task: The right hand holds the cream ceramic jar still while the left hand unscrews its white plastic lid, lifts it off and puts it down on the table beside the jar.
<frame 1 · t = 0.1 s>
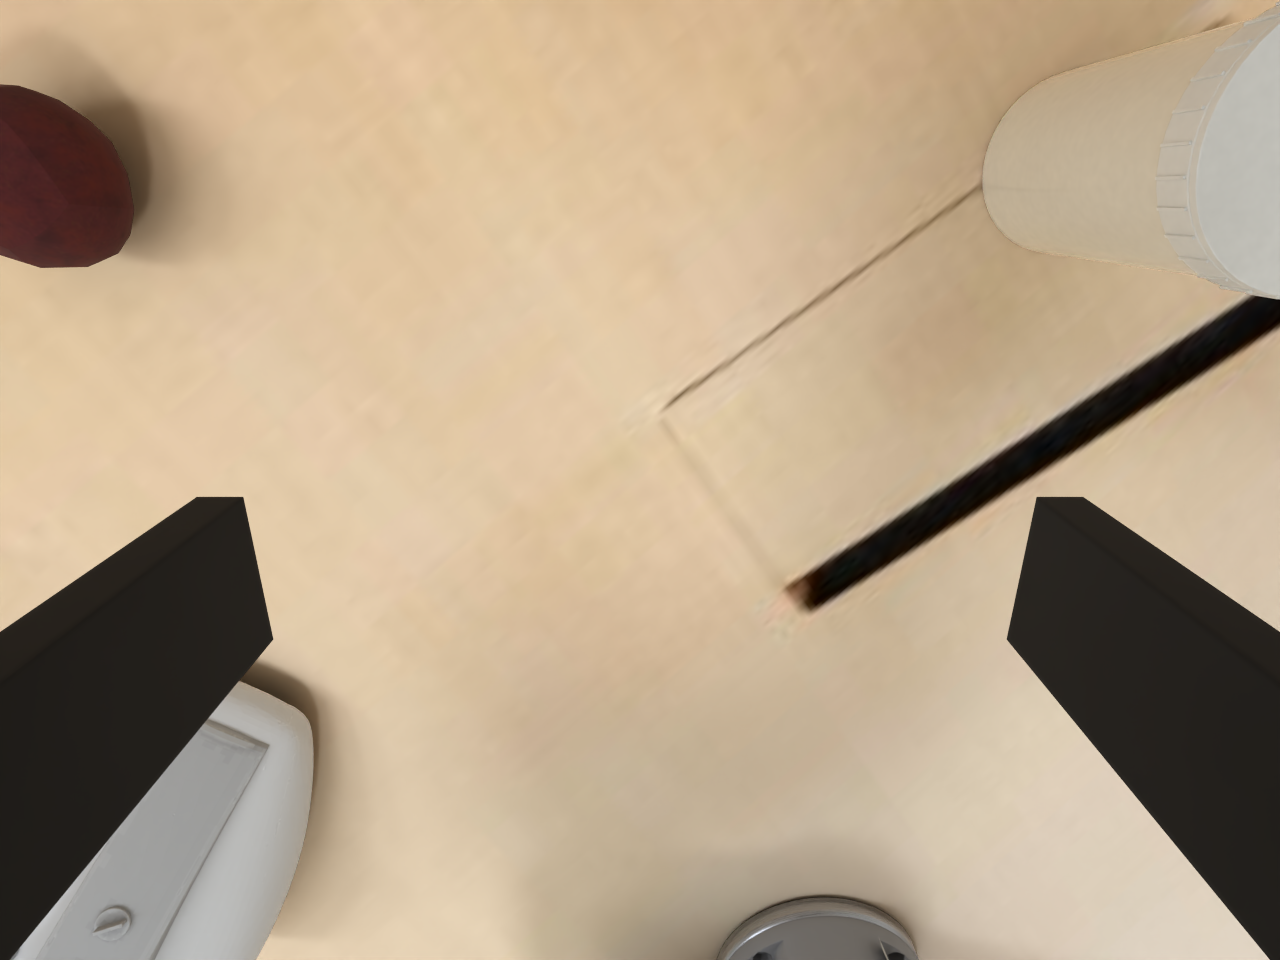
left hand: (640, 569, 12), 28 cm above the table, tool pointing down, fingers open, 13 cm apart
projector: (204, 794, 50), on the table
jar: (1067, 165, 36), on the table
dark red ball: (92, 184, 36), on the table
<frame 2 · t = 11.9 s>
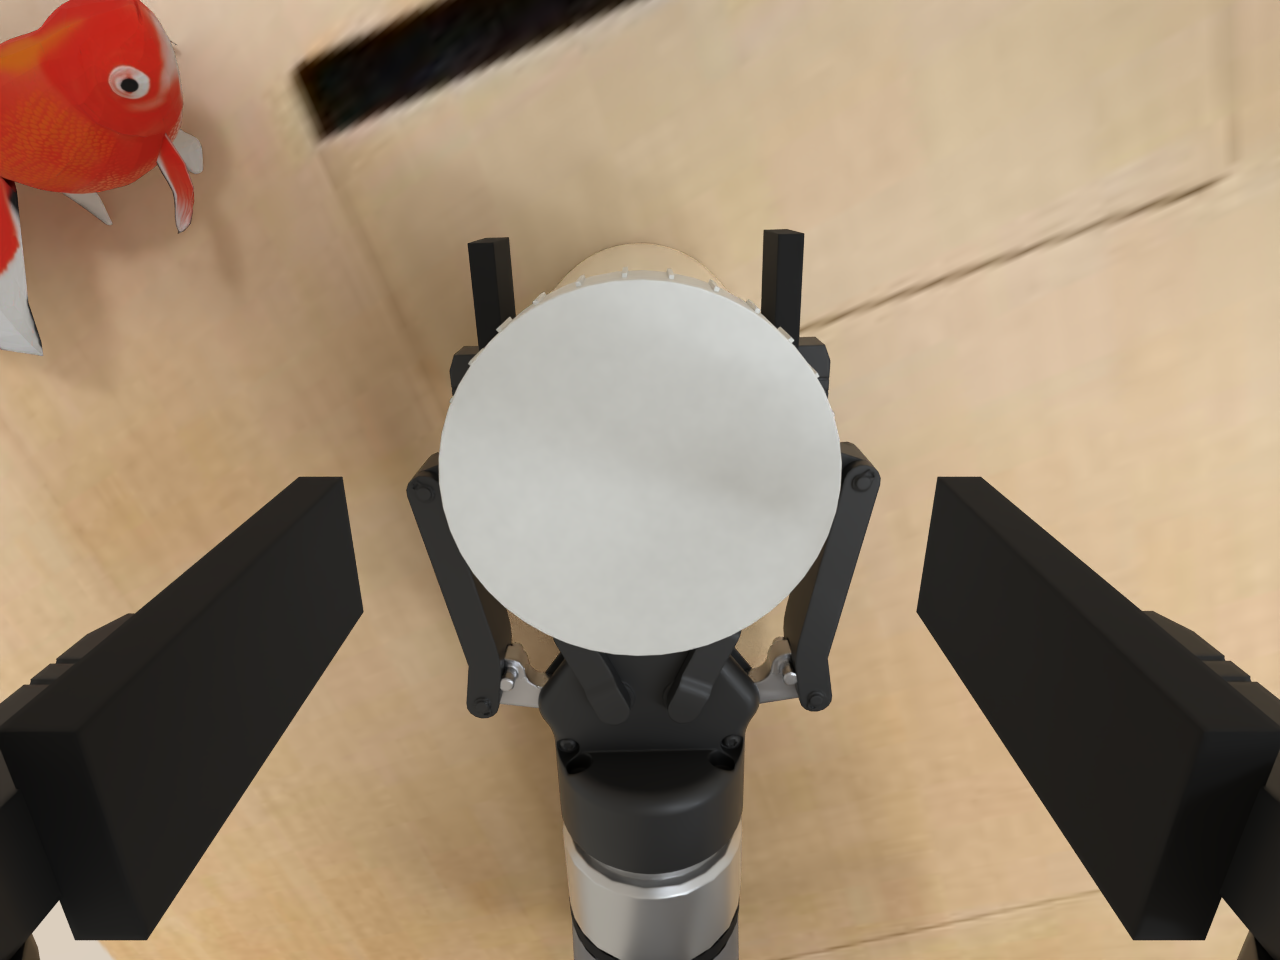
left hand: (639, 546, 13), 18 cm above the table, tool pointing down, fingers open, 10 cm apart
right hand: (635, 236, 23), fingers closed on jar, 8 cm apart
fish: (100, 182, 28), on the table
jar: (640, 348, 30), on the table, touching right hand
lid: (640, 480, 16), point 15 cm above the table, screwed on, not yet turned
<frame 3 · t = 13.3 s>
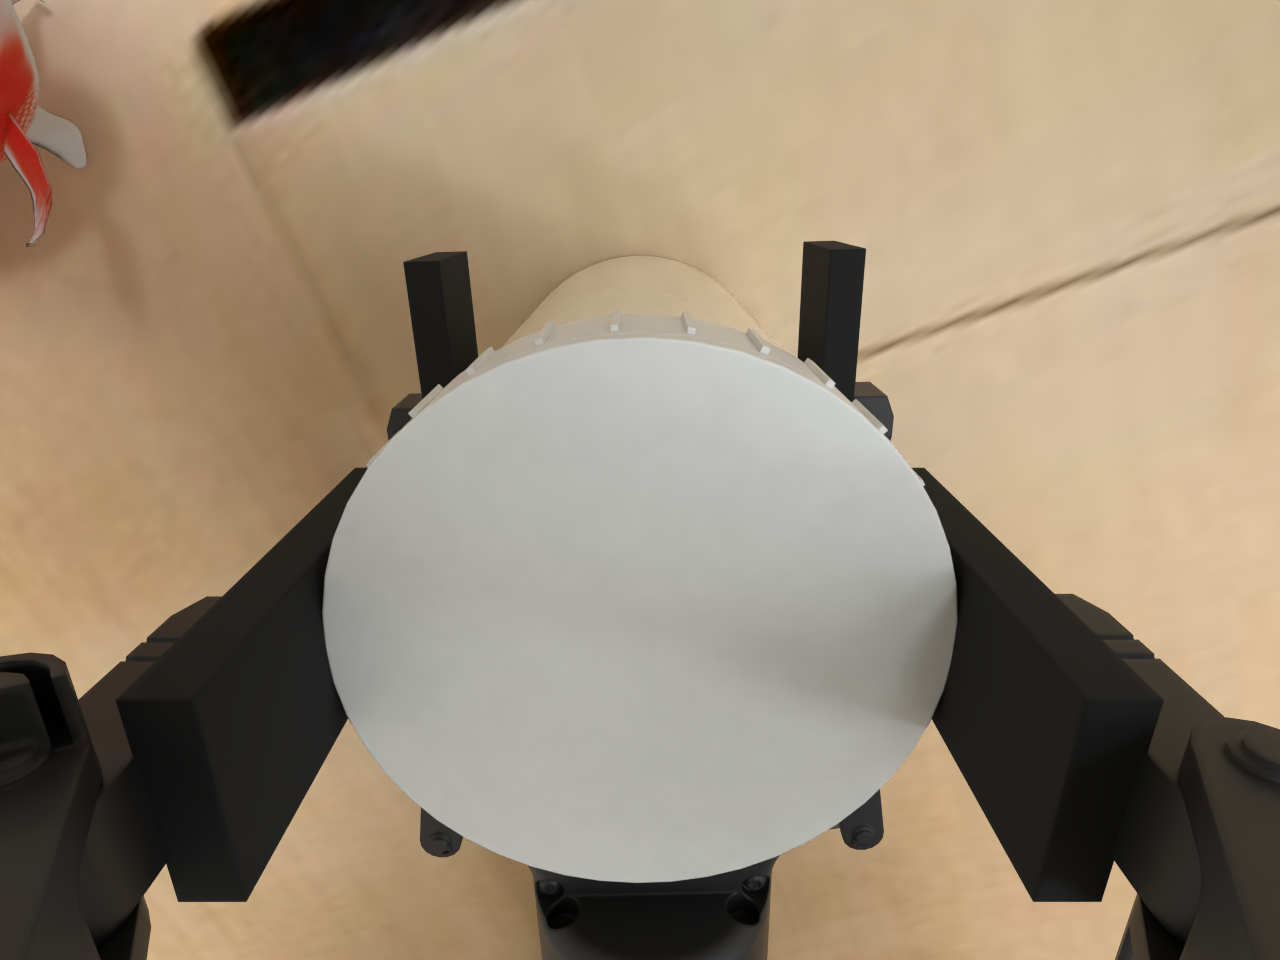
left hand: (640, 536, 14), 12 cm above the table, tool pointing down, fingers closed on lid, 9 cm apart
jar: (640, 384, 25), on the table, touching right hand
lid: (640, 638, 11), point 15 cm above the table, screwed on, not yet turned, touching left hand
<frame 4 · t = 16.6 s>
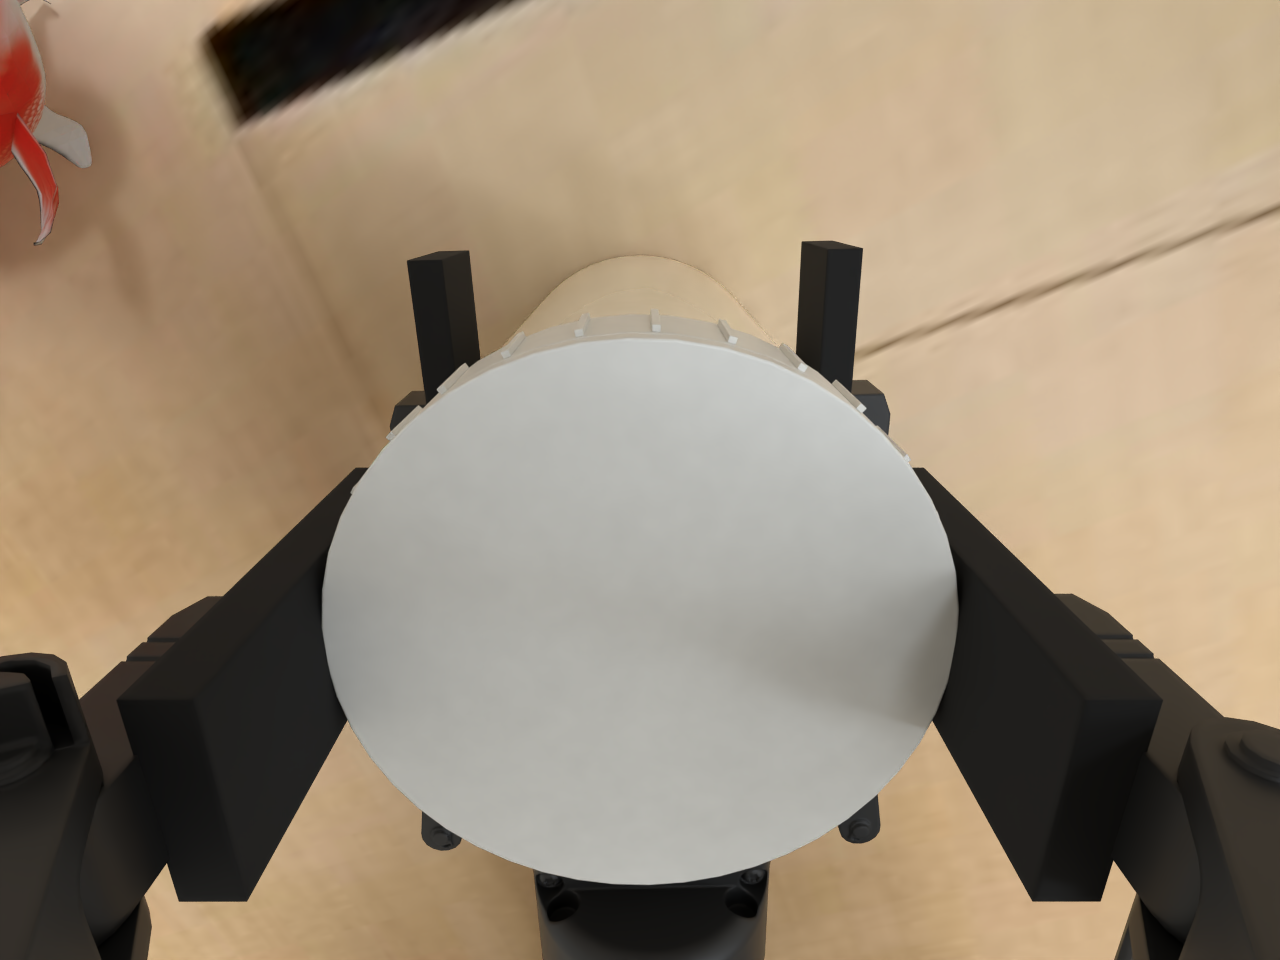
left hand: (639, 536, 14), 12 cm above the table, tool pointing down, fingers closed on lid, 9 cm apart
jar: (639, 382, 25), on the table, touching right hand
lid: (640, 640, 11), point 15 cm above the table, turned 93° so far, risen 0.3 cm, still on its thread, touching left hand
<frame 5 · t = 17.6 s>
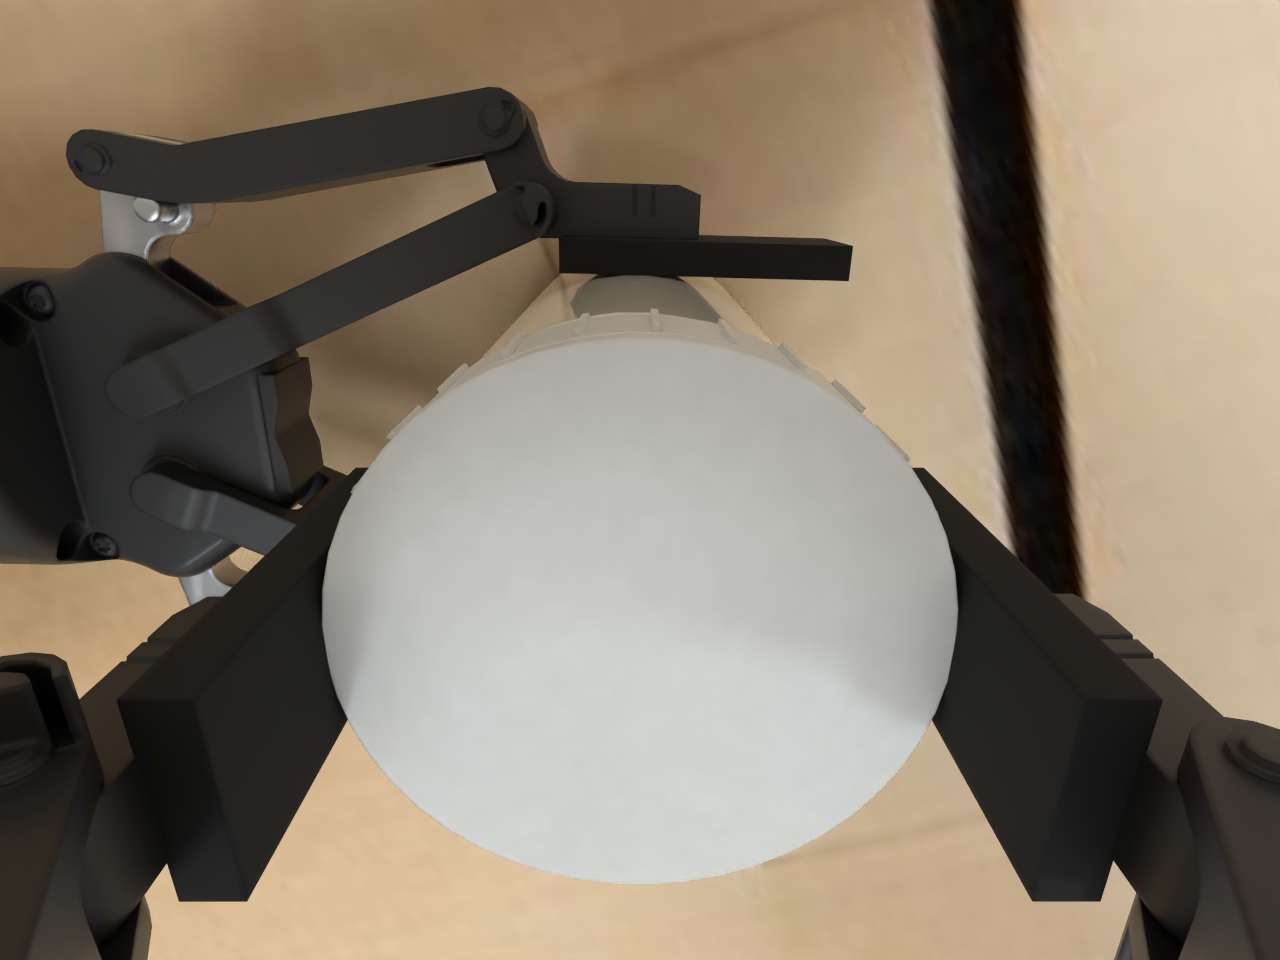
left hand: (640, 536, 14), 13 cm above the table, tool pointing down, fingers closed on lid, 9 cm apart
right hand: (813, 436, 19), fingers closed on jar, 8 cm apart
jar: (635, 374, 25), on the table, touching right hand
lid: (639, 639, 11), point 16 cm above the table, off its thread, touching left hand
when the left hand's fingers open (0 cm above the table, at t = 23.5 s): lid drops 2 cm, point 2 cm above the table.
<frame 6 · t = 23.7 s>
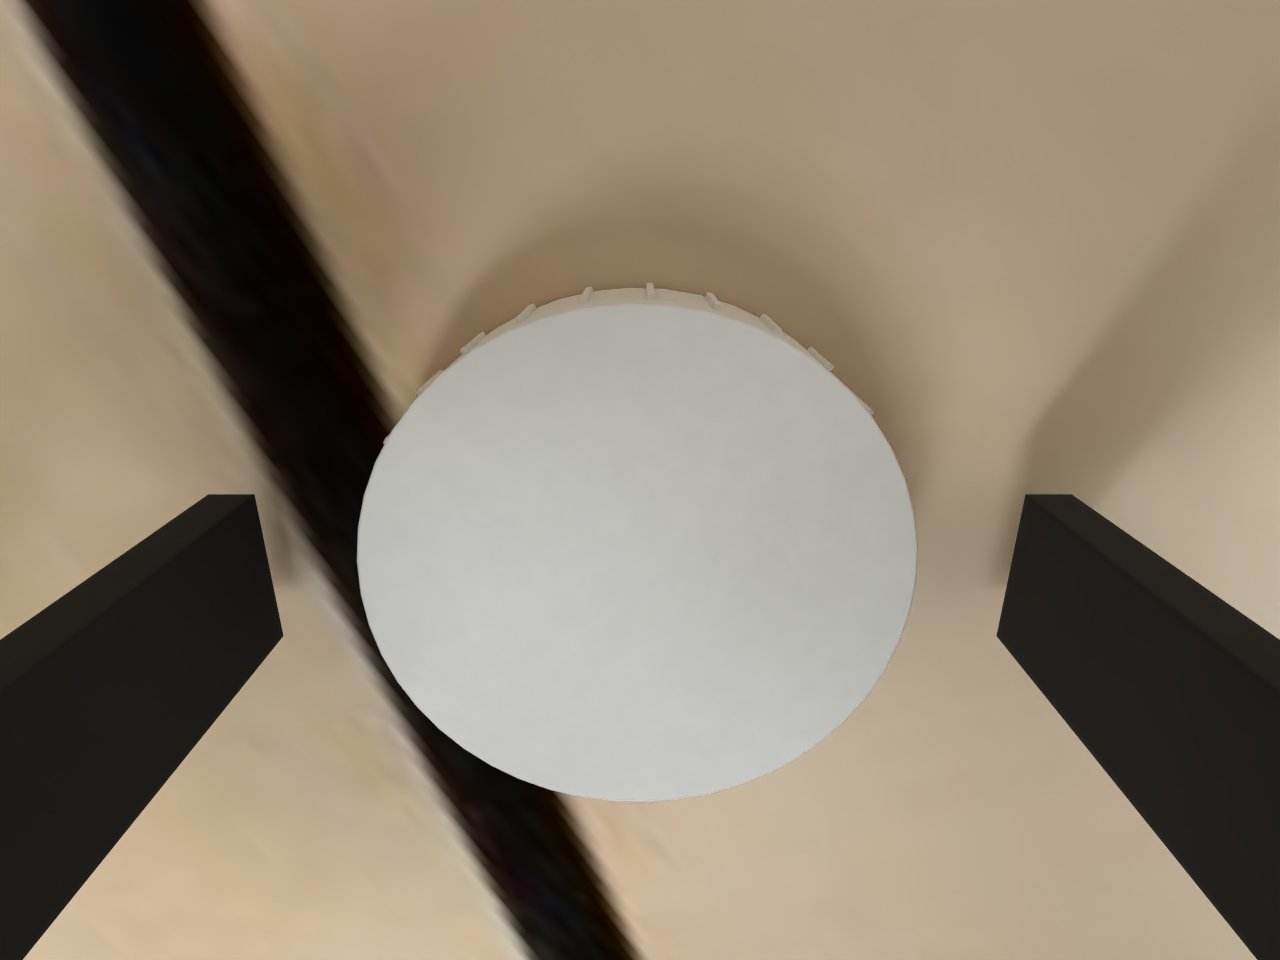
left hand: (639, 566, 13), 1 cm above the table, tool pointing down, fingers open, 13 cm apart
lid: (637, 576, 12), point 2 cm above the table, off its thread
when the right hand's fingers open (6 cm above the table, at t = 24.4 s): jar stays where it is, on the table.
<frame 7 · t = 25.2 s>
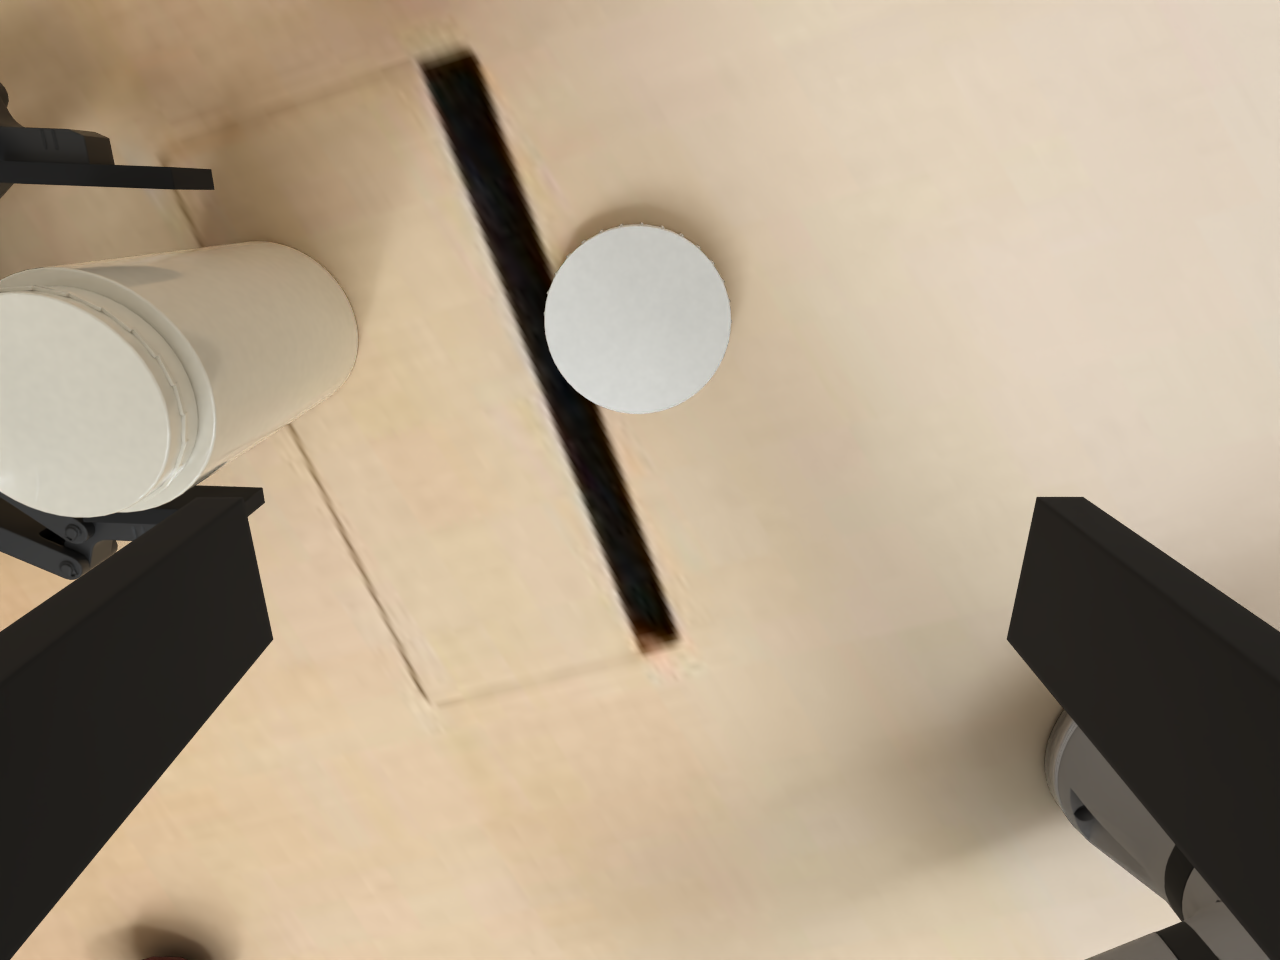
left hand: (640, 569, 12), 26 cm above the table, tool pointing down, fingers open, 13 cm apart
jar: (274, 328, 37), on the table
lid: (637, 323, 35), point 2 cm above the table, off its thread
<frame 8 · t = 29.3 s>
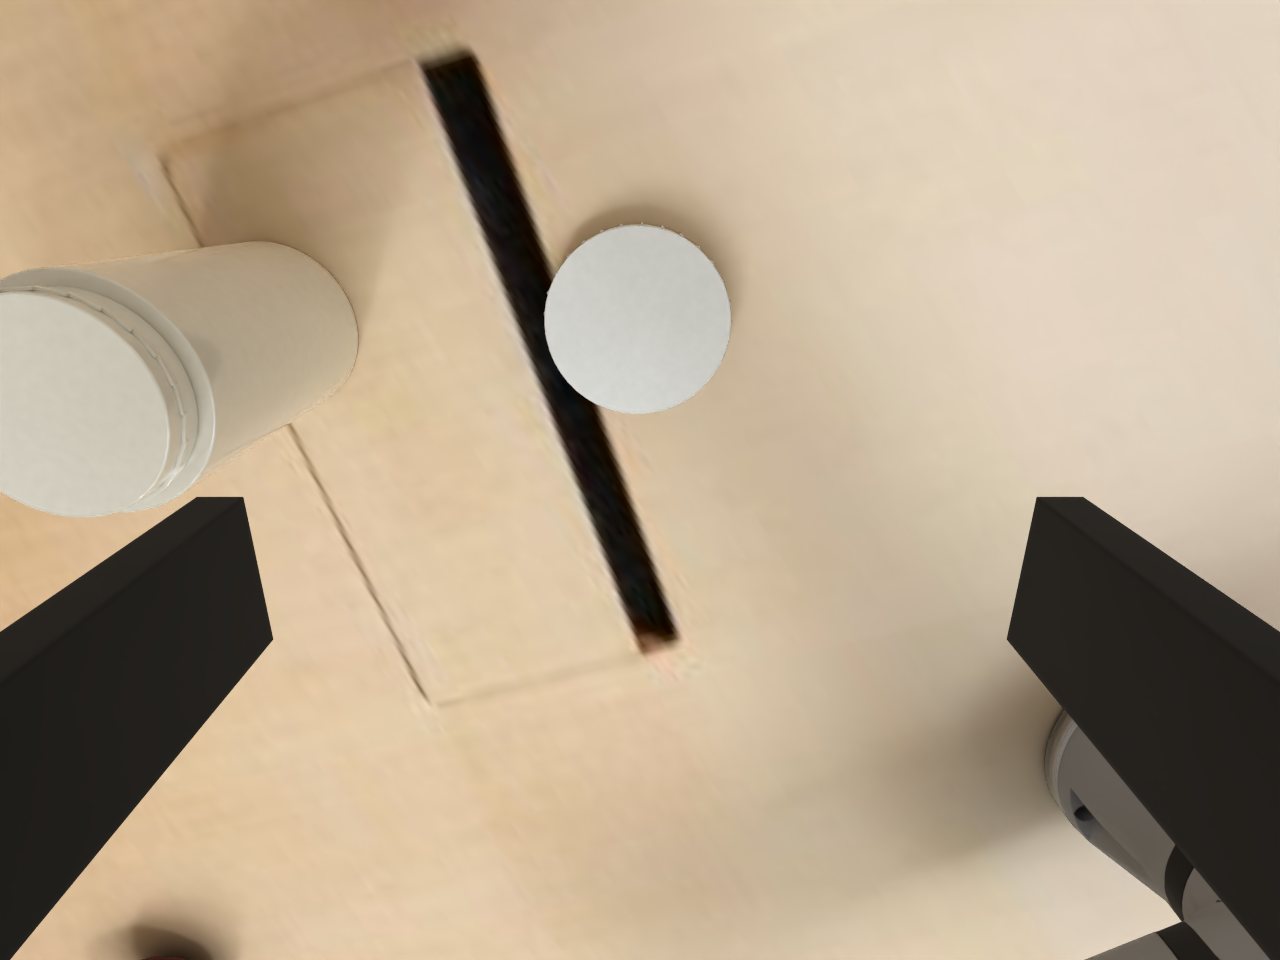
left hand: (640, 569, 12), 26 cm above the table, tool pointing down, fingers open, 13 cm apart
jar: (274, 328, 37), on the table
lid: (637, 323, 35), point 2 cm above the table, off its thread
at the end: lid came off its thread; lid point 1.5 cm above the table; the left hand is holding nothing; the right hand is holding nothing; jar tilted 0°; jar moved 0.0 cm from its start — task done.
